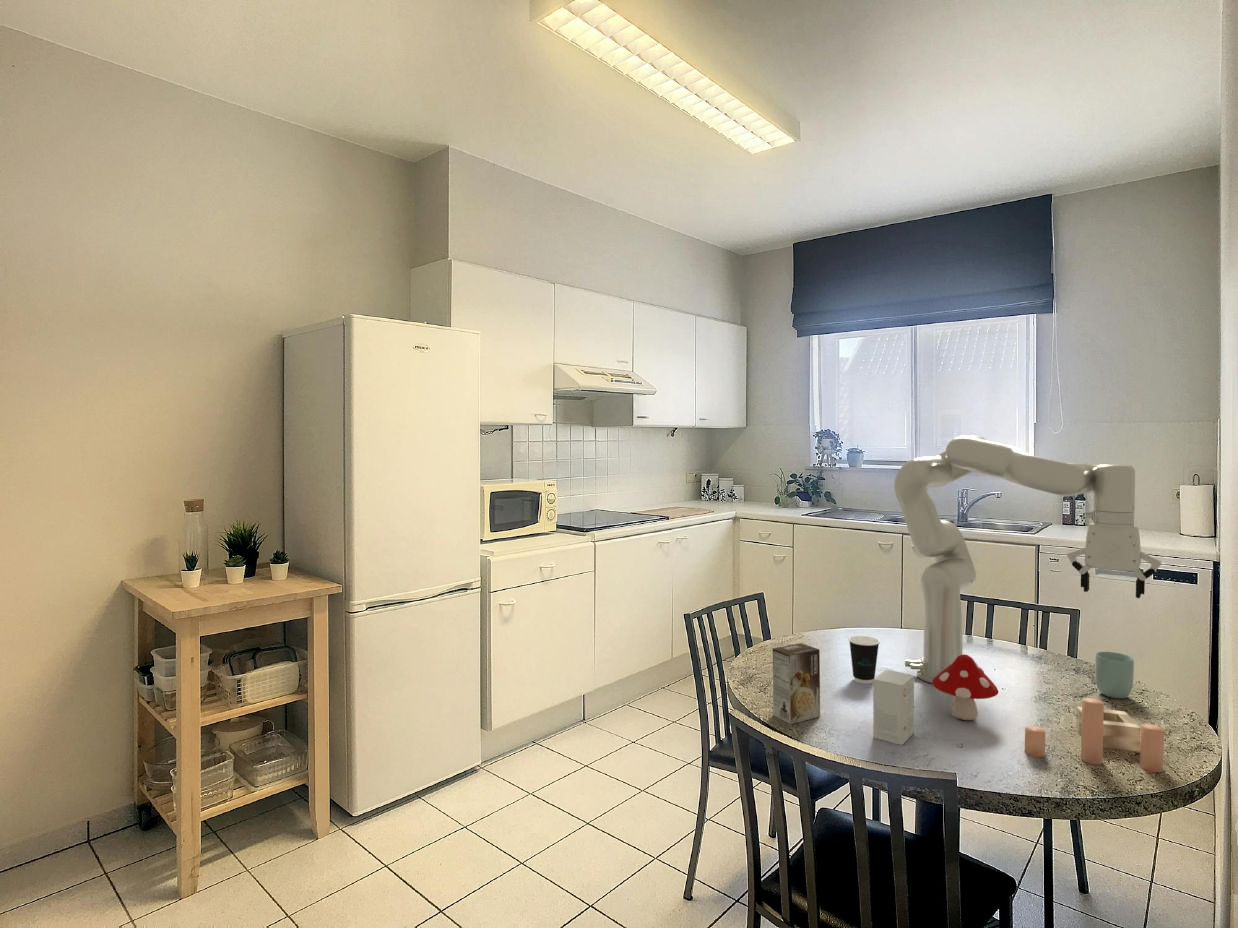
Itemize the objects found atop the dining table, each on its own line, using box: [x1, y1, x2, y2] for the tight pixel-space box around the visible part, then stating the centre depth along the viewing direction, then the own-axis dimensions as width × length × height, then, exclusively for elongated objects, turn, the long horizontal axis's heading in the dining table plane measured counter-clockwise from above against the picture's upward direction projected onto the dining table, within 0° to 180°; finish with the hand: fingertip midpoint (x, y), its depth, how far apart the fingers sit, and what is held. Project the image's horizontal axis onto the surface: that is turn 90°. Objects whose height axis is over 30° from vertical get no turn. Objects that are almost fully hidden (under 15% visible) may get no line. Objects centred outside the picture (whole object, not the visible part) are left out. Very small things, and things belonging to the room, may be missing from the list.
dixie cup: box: [848, 635, 881, 685], centre depth 184 cm, size 8×8×11 cm
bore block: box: [1075, 706, 1141, 753], centre depth 148 cm, size 9×9×5 cm
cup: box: [1094, 651, 1135, 699], centre depth 172 cm, size 8×8×10 cm
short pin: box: [1024, 725, 1046, 759], centre depth 142 cm, size 4×4×5 cm
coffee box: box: [772, 642, 821, 725], centre depth 161 cm, size 9×6×16 cm
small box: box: [872, 669, 915, 746], centre depth 150 cm, size 8×6×13 cm
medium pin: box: [1139, 723, 1165, 773], centre depth 135 cm, size 4×4×8 cm
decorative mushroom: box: [931, 653, 999, 721], centre depth 159 cm, size 14×14×15 cm
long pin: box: [1080, 697, 1105, 766], centre depth 138 cm, size 4×4×12 cm
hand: (1111, 593), depth 157 cm, fingers open, 9 cm apart
